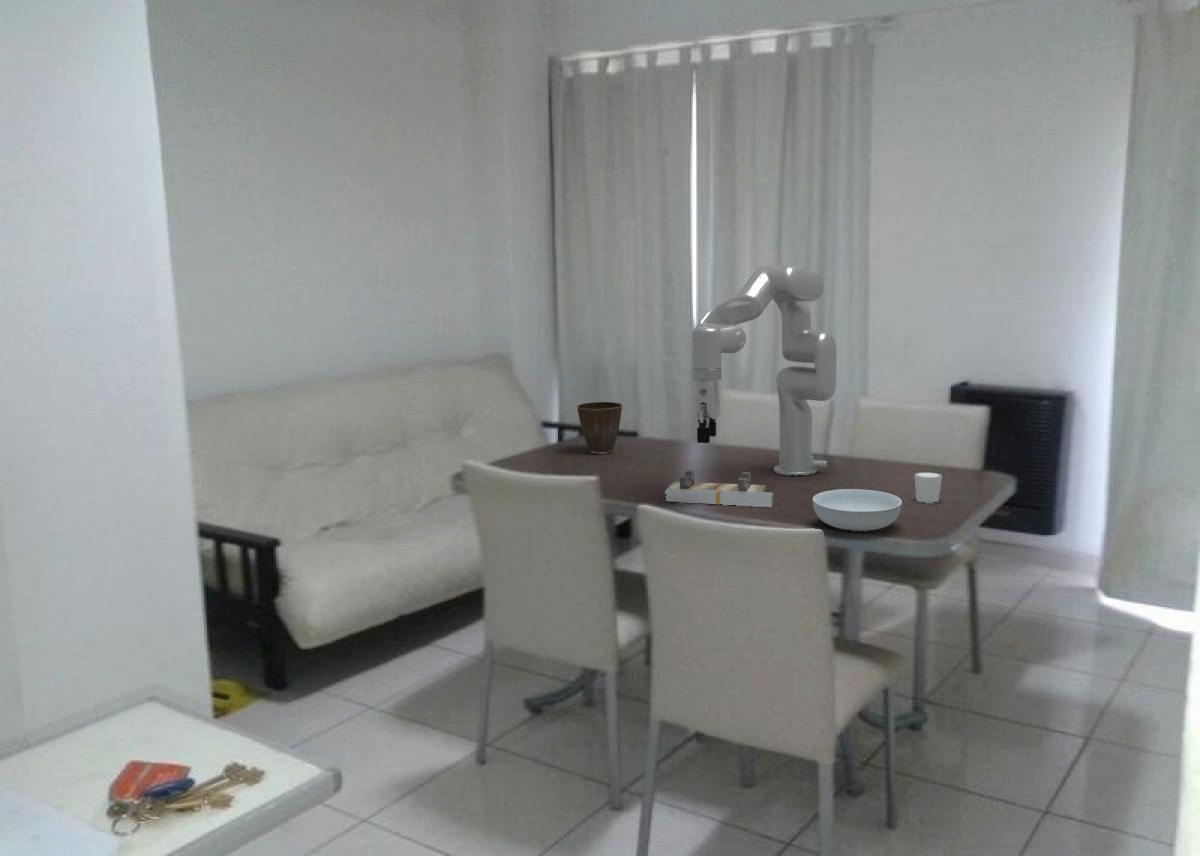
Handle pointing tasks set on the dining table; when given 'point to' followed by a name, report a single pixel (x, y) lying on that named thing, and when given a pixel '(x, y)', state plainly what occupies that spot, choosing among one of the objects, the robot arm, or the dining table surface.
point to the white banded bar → (721, 497)
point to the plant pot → (600, 424)
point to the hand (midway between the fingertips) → (706, 439)
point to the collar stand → (716, 484)
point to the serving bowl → (857, 509)
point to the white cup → (927, 487)
